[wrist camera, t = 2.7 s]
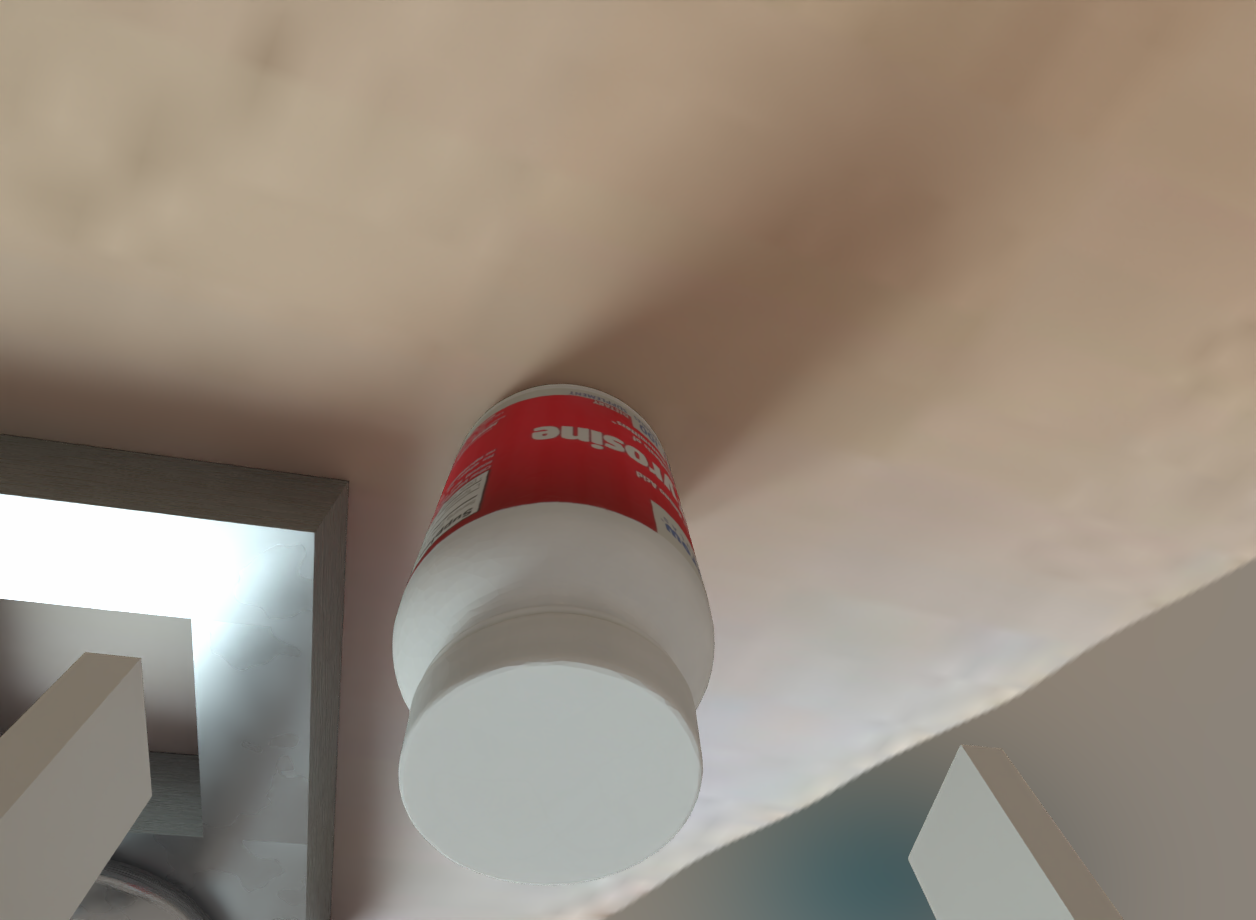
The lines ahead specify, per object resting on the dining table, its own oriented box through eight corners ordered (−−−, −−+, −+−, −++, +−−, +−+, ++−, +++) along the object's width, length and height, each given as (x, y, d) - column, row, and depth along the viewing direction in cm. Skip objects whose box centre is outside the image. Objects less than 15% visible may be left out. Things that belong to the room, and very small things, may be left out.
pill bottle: (710, 466, 21) (835, 759, 11) (576, 602, 23) (579, 966, 13) (546, 331, 19) (516, 537, 9) (412, 490, 21) (261, 813, 11)
